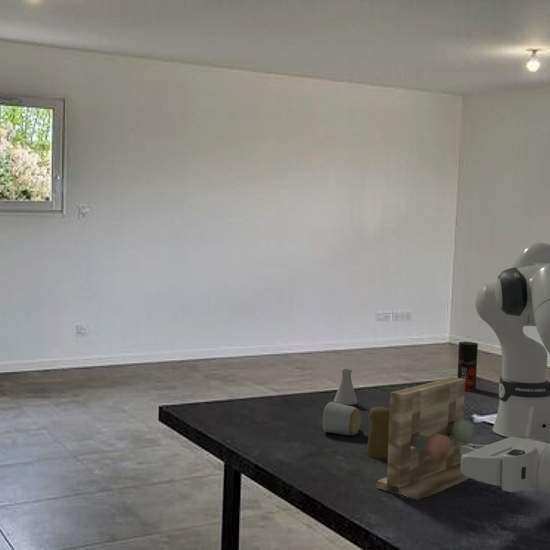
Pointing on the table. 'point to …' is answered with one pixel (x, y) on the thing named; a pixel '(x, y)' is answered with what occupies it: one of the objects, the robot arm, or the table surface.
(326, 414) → the ceramic mug
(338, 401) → the flask
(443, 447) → the button terracotta
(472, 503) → the table surface
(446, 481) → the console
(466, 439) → the button sage
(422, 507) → the table surface
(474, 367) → the deodorant
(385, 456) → the cork
